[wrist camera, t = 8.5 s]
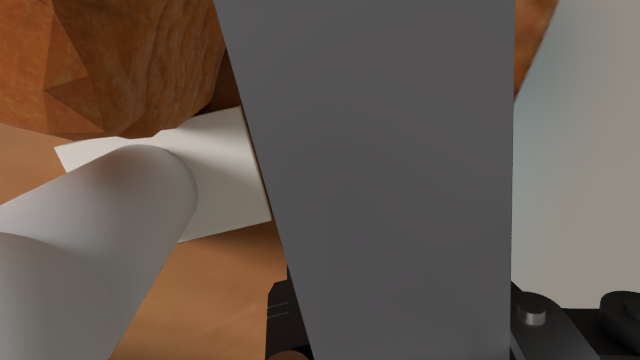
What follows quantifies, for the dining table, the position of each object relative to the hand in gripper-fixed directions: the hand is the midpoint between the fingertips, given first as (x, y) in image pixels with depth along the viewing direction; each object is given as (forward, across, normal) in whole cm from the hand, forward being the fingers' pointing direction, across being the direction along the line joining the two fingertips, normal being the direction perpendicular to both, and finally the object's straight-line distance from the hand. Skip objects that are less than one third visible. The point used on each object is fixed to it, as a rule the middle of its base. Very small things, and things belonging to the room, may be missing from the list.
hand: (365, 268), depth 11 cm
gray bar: (+1, 0, 0) cm, 1 cm away
